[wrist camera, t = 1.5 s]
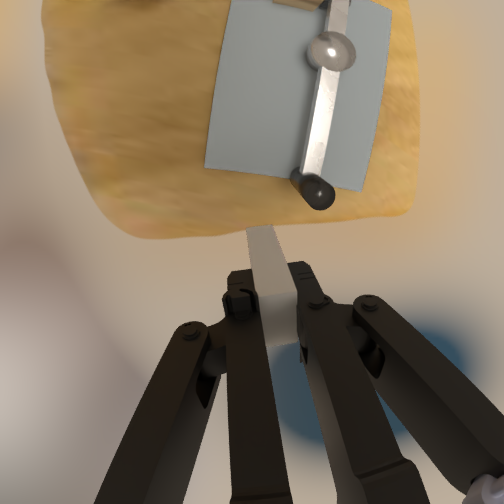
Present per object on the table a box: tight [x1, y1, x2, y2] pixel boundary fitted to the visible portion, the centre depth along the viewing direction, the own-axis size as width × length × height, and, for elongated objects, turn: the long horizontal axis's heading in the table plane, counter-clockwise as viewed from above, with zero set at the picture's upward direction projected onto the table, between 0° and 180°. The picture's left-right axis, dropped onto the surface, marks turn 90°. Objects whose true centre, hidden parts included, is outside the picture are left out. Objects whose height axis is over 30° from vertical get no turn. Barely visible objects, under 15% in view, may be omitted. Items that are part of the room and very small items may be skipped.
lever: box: [290, 0, 356, 210], centre depth 22 cm, size 25×4×7 cm, turn 171°
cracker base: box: [204, 0, 392, 192], centre depth 24 cm, size 25×18×3 cm
